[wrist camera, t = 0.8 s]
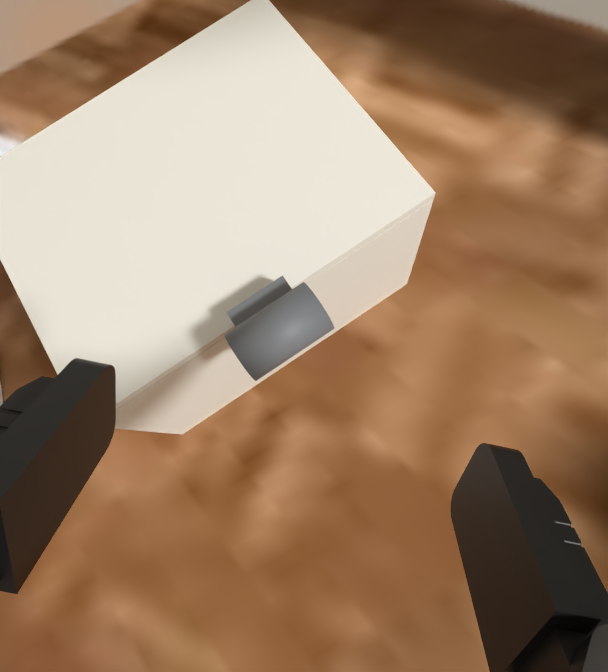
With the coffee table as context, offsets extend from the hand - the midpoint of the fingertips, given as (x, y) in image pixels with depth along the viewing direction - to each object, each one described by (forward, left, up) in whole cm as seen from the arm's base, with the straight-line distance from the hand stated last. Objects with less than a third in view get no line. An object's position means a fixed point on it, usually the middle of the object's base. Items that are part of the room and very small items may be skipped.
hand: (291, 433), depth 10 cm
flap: (-1, -13, -11) cm, 17 cm away
